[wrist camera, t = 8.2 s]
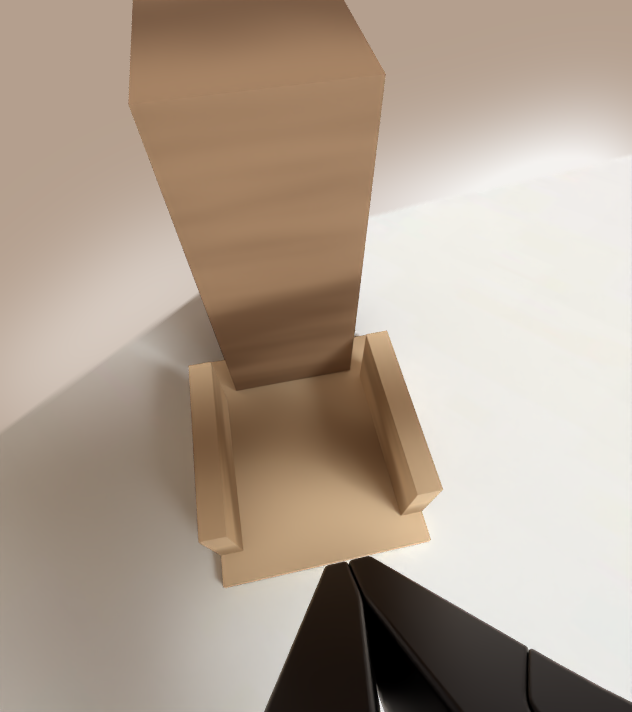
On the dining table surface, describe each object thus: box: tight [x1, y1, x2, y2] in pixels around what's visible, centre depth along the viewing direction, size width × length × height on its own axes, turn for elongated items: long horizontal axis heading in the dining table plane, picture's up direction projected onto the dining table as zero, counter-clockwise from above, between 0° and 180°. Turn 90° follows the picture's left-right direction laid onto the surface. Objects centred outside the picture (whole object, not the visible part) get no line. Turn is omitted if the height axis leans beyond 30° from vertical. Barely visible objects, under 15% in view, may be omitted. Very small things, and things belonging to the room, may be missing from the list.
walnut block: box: [128, 0, 386, 391], centre depth 15 cm, size 5×5×12 cm
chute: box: [189, 331, 443, 588], centre depth 16 cm, size 9×7×4 cm
